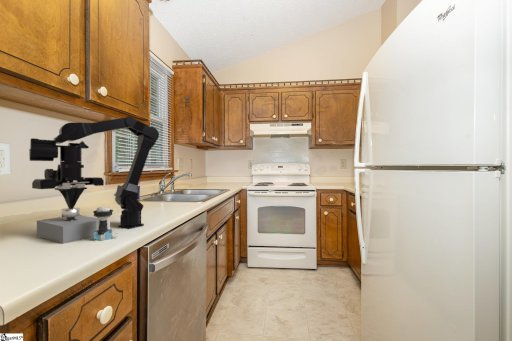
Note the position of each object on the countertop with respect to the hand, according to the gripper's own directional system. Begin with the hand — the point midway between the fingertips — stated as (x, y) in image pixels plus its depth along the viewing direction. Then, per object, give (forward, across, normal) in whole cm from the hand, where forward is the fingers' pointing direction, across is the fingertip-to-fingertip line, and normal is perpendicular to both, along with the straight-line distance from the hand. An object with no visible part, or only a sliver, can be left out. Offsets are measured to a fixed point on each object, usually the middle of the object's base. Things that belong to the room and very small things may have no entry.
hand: (71, 208), depth 84 cm
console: (+9, 0, 0) cm, 9 cm away
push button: (+9, -3, +14) cm, 17 cm away
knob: (+7, 0, 0) cm, 8 cm away
